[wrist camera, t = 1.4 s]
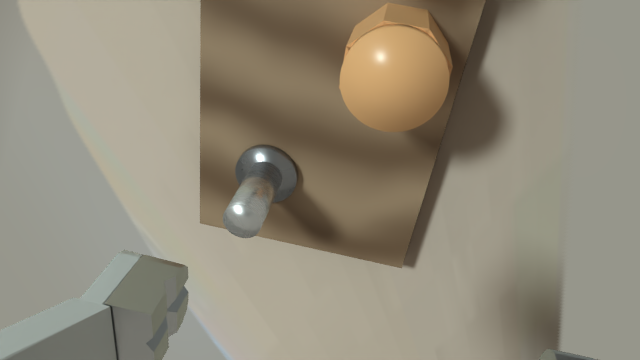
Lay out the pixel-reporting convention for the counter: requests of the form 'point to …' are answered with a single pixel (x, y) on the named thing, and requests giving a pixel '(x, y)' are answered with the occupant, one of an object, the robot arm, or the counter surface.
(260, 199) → the stud
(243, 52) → the board
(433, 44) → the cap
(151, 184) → the counter surface
